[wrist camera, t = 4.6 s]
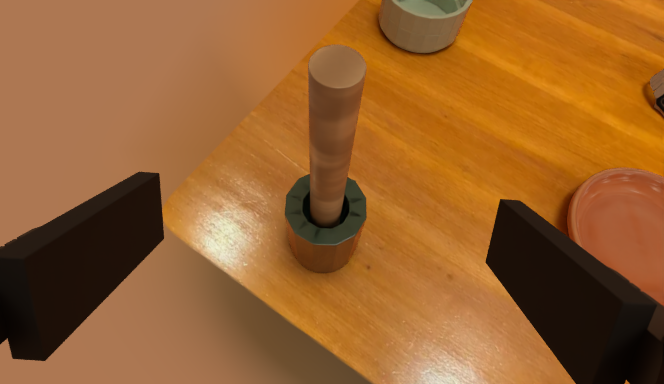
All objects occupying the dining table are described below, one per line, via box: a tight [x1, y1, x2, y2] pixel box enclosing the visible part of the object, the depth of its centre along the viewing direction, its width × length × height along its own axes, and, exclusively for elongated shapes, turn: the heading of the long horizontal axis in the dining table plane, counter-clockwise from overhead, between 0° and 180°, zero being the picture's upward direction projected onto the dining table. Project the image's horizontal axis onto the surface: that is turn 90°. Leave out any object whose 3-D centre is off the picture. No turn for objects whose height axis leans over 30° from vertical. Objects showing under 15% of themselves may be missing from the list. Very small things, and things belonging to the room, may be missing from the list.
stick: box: [308, 45, 366, 229], centre depth 28 cm, size 3×3×24 cm
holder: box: [285, 174, 366, 273], centre depth 35 cm, size 7×7×9 cm
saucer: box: [567, 168, 664, 306], centre depth 39 cm, size 16×16×3 cm
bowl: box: [379, 0, 472, 53], centre depth 51 cm, size 11×11×6 cm
